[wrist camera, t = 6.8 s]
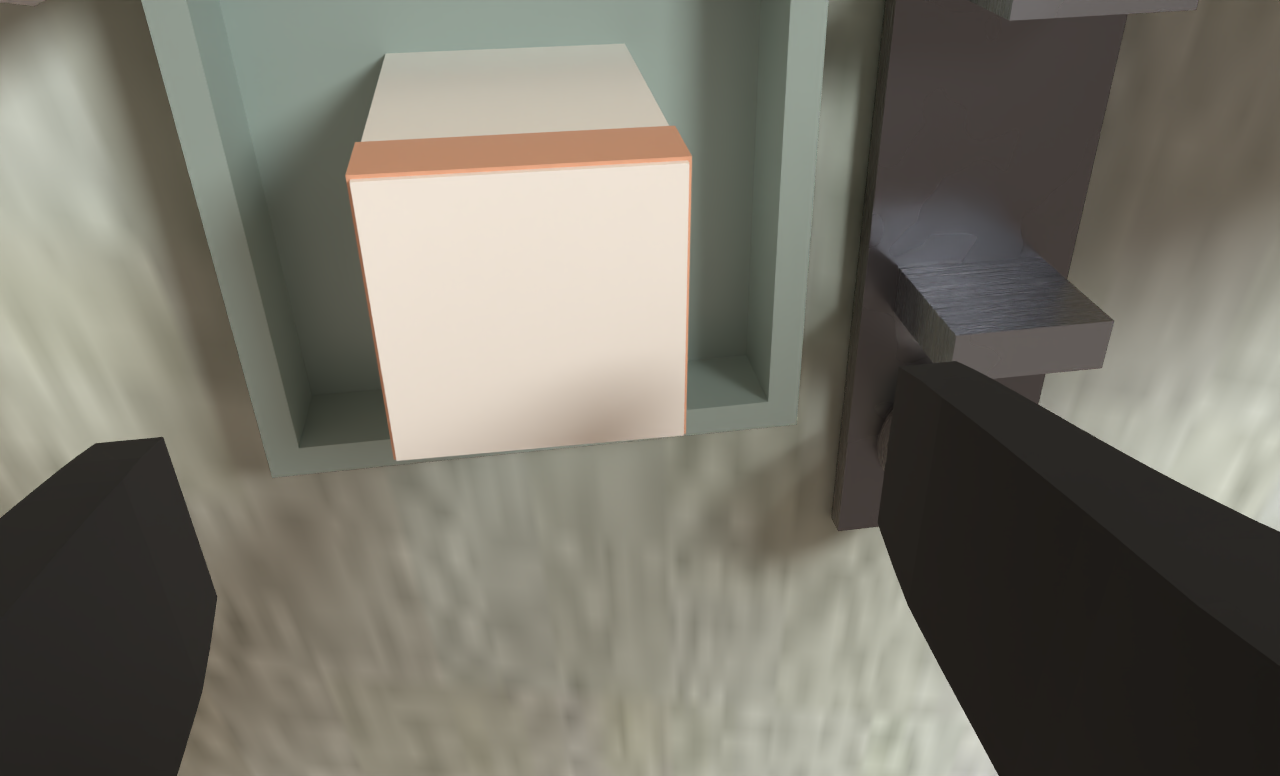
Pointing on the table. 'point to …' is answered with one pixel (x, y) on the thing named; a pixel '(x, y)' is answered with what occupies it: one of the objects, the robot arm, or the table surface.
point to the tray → (335, 119)
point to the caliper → (23, 2)
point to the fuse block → (975, 207)
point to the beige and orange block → (523, 250)
